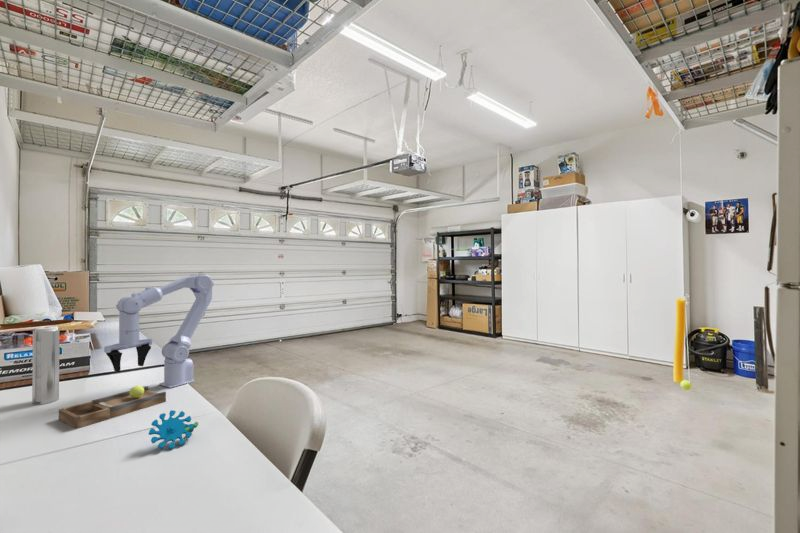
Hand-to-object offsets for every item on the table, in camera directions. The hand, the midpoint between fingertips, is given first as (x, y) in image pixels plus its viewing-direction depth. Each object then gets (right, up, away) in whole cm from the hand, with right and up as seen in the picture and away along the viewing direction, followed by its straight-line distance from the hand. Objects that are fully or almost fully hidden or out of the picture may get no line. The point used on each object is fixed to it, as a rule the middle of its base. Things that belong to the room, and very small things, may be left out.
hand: (129, 368), depth 129 cm
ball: (+9, -5, -8) cm, 13 cm away
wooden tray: (+6, -9, -14) cm, 18 cm away
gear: (+38, -10, -35) cm, 52 cm away
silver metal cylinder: (-23, -9, -7) cm, 26 cm away
